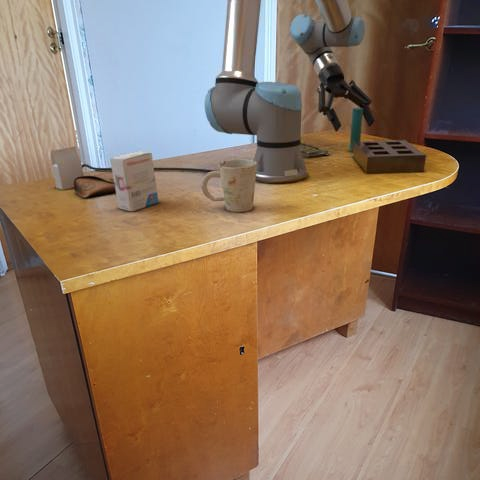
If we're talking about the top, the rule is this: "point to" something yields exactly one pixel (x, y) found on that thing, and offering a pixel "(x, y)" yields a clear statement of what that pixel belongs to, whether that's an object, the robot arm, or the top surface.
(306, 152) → the keyboard
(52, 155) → the grey box
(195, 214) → the top surface
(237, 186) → the mug
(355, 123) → the peg
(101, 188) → the sunglasses case
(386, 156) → the peg board
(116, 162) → the ink box
